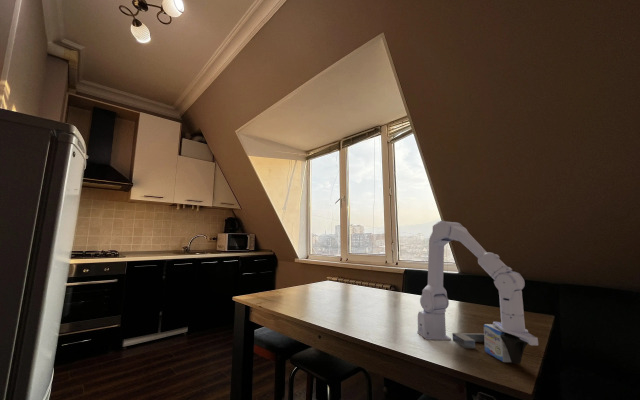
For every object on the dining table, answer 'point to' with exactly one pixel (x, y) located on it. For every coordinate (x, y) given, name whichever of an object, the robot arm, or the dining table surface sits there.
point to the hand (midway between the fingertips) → (515, 362)
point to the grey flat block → (468, 339)
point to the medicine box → (495, 343)
